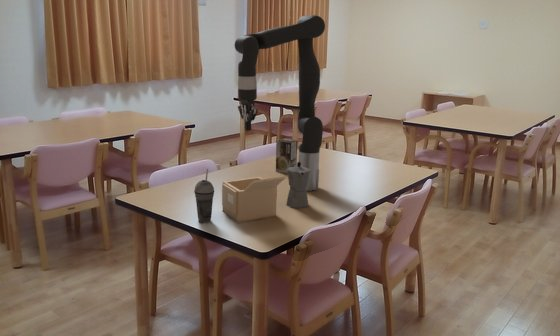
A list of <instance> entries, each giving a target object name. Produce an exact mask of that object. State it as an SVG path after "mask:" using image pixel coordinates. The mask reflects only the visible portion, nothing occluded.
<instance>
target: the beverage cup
mask: <svg viewBox="0 0 560 336" xmlns="http://www.w3.org/2000/svg"><path fill="white" fill-rule="evenodd" d="M205 172H206V173H205V179H202V180H200V181H198V182H197V183H196V184H195V186H194V192H193V193H194V195H195V202H196V211H197V212H196V213H197V214H196V215H197V219H198V223H201V224H209V223H211V221H212V214H213V213H212V212H213V211H212V210H213V201H214V196H215V188H214V185H213V184H212V182H211V181H210V180H208V175H209V168H206V171H205Z"/></svg>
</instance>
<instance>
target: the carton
mask: <svg viewBox="0 0 560 336" xmlns="http://www.w3.org/2000/svg"><path fill="white" fill-rule="evenodd" d="M262 179H263V177H261V176H256V177H248V178H241V179H233V180H224V181H222V184H221V205H222V212H223V213H224V214H226V215H227V216H228V217H229V218H231V219H233V220H234V221H235V222H237V224H241V223H246V222H250V221H251V222H252V221H257V220H262V219H263V220H264V219H267V218H273V216H274V217H276V216H277V199H278V196H277V195H278V194H277V193H278V185H277V186H276V187H274V188H267V189H260V190H253V191H247V192H244V189H245V188H246V187H247V186H248V185H249V184H250V183H251V182H252V181H255V180H262Z"/></svg>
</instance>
